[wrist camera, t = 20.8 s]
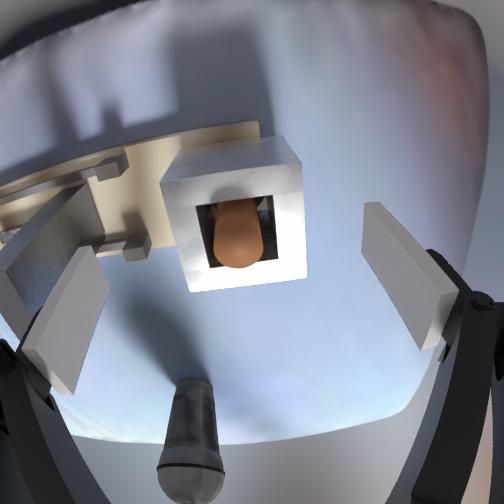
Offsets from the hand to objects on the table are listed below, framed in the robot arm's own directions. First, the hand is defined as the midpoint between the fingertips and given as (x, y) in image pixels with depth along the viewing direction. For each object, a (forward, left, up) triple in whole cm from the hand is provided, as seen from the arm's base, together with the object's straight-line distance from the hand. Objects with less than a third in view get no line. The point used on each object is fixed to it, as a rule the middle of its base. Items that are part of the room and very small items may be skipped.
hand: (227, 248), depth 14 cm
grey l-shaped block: (-15, 0, -7) cm, 17 cm away
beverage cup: (-9, -25, -9) cm, 28 cm away
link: (+1, 0, -7) cm, 7 cm away
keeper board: (-15, 0, -9) cm, 17 cm away
